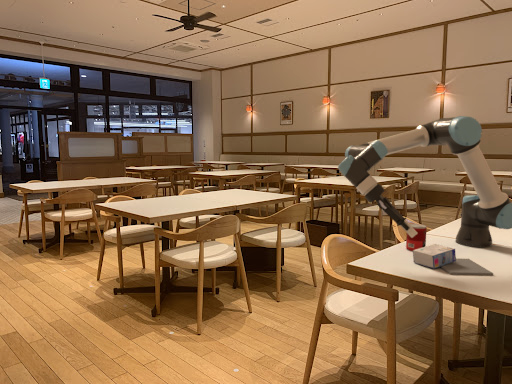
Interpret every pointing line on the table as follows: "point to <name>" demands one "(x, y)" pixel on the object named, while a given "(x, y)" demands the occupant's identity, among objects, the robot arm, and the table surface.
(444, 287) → the table surface
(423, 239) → the canned food
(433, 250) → the ink cartridge box
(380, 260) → the table surface
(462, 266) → the rubber mat
